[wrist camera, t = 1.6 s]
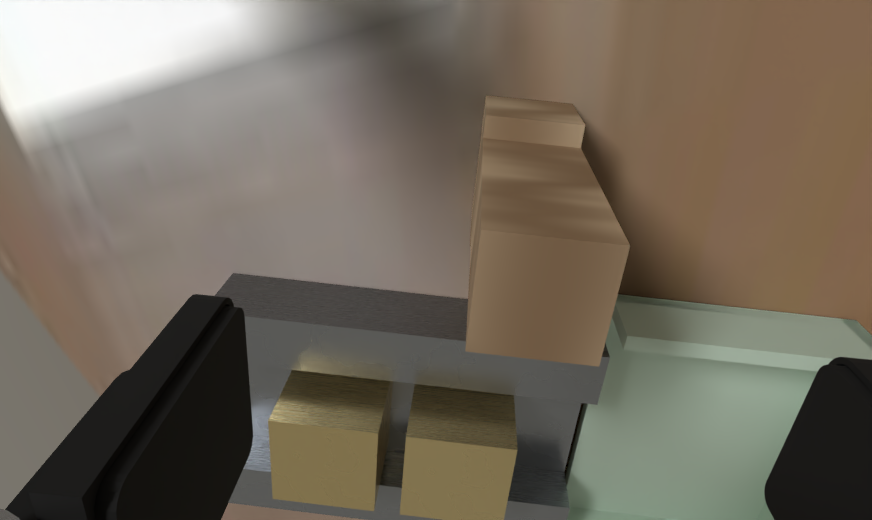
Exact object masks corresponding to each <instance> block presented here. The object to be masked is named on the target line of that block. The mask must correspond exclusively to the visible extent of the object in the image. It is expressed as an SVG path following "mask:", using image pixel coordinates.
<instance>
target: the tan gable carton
mask: <svg viewBox="0 0 872 520" xmlns="http://www.w3.org/2000/svg"><path fill="white" fill-rule="evenodd" d="M584 129H585V124H584V122H583V121H582V119H581V117H580V116H579V114H578V112H577V111H576V109H575V107H574V106H573V104H567V103H558V102H548V101H538V100H528V99H518V98H508V97H498V96H488V95H486V98H485V106H484V115H483V123H482V131H481V140H480V148H479V156H478V165H477V173H476V181H475V190H474V198H473V206H472V217H471V234H470V246H471V257H470V275H469V294H468V312H467V331H466V349H465V351H466V352H475V353H484V354H492V355H501V356H510V357H519V358H528V359H536V360H545V361H554V362H563V363H572V364H580V365H589V366H598V367H599V365H600V361H601V358H602V354H603V350H604V346H605V342H606V338H607V334H608V330H609V327H610V323H611V319H612V315H613V311H614V307H615V303H616V299H617V296H618V292H619V288H620V284H621V280H622V276H623V272H624V268H625V265H626V261H627V257H628V253H629V249H630V244H629V242H628V240H627V238H626V236H625V234H624V232H623V230H622V228H621V227H620V225H619V223H618V221H617V219H616V217H615V215H614V213H613V211H612V209H611V207H610V205H609V203H608V201H607V199H606V197H605V195H604V193H603V191H602V189H601V187H600V185H599V183H598V181H597V179H596V177H595V175H594V173H593V171H592V169H591V167H590V165H589V163H588V161H587V159H586V157H585V155H584V153H583V151H582V149H581V145H582V140H583V134H584Z"/></svg>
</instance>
